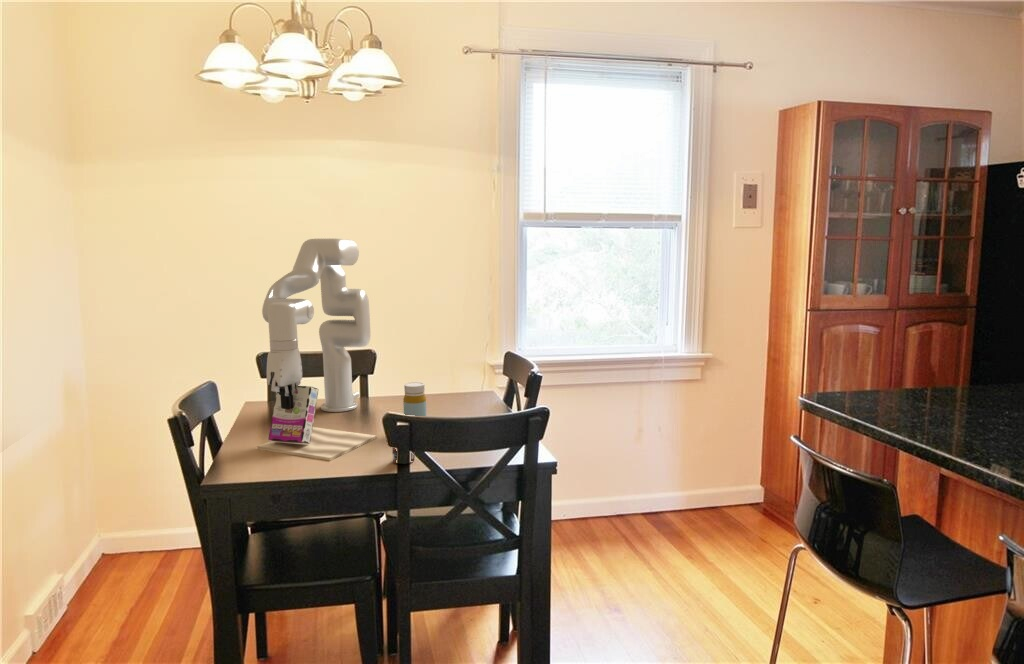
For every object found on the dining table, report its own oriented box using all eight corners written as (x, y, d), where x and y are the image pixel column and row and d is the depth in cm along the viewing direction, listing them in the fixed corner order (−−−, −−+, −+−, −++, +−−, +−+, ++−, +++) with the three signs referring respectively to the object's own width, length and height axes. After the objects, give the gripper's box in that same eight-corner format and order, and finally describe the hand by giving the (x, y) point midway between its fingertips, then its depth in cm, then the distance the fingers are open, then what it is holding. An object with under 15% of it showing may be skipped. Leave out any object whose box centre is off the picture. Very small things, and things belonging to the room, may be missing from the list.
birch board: (308, 428, 215) (308, 426, 215) (376, 438, 205) (376, 435, 205) (257, 449, 195) (257, 446, 195) (330, 460, 185) (330, 457, 185)
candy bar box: (310, 444, 197) (319, 389, 200) (301, 442, 192) (311, 386, 196) (276, 441, 199) (286, 387, 203) (267, 440, 194) (277, 383, 198)
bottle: (428, 427, 215) (427, 381, 213) (425, 434, 208) (423, 386, 206) (406, 427, 216) (405, 381, 213) (402, 434, 209) (401, 386, 206)
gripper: (291, 340, 199) (295, 401, 202) (254, 348, 186) (258, 413, 189) (312, 342, 197) (315, 403, 199) (275, 350, 183) (279, 416, 186)
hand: (287, 408), depth 194 cm, fingers closed
